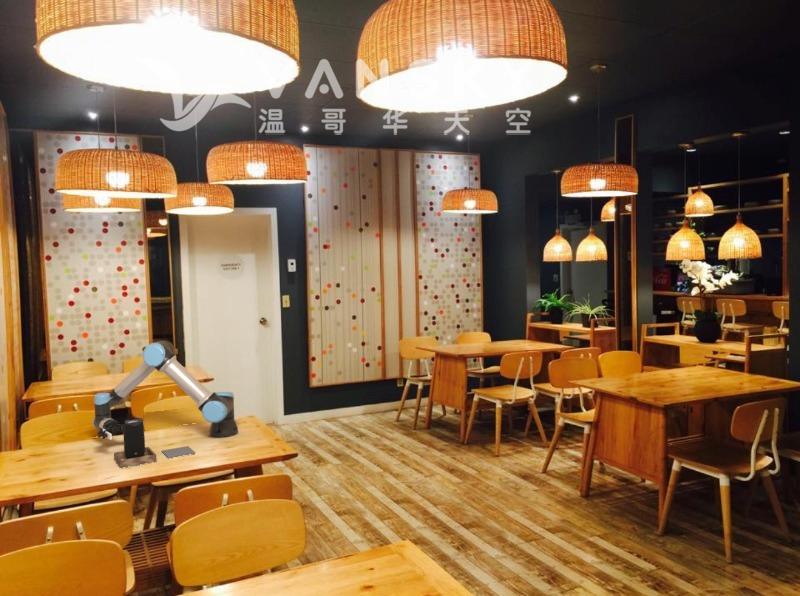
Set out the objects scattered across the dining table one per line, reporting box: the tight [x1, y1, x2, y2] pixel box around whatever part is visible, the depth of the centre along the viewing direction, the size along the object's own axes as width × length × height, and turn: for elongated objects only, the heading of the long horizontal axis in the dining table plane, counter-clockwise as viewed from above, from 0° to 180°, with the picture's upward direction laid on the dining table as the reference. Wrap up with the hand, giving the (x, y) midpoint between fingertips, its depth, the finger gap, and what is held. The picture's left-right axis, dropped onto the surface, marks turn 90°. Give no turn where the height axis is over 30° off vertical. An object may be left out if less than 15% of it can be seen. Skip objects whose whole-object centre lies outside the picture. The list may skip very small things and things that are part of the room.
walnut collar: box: [113, 446, 158, 469], centre depth 305 cm, size 16×16×4 cm
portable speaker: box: [123, 418, 146, 460], centre depth 304 cm, size 9×9×20 cm
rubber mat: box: [161, 445, 196, 459], centre depth 316 cm, size 13×13×1 cm
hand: (125, 434), depth 312 cm, fingers open, 13 cm apart
